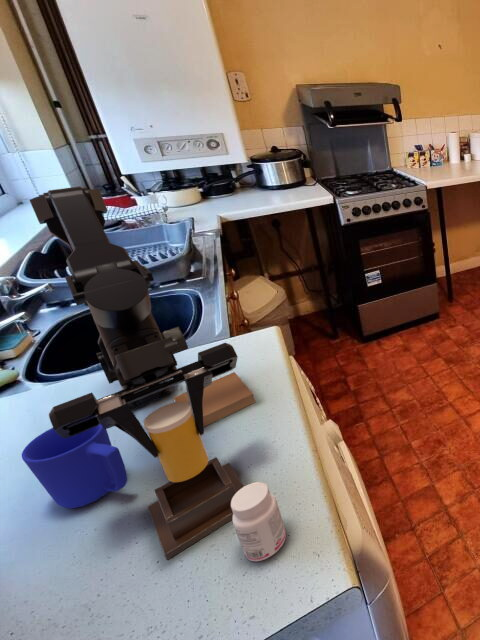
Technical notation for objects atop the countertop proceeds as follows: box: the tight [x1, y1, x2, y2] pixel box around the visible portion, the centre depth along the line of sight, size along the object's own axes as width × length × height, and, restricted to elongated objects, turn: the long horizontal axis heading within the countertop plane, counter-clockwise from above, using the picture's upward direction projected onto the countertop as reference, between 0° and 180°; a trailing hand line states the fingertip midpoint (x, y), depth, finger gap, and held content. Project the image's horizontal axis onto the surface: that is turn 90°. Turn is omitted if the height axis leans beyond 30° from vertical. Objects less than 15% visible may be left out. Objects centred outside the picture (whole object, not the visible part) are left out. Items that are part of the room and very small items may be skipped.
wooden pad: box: [173, 371, 256, 428], centre depth 80 cm, size 10×10×2 cm
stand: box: [147, 456, 245, 561], centre depth 60 cm, size 10×10×4 cm
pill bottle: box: [231, 481, 287, 562], centre depth 54 cm, size 5×5×8 cm
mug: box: [21, 424, 128, 509], centre depth 61 cm, size 8×12×10 cm
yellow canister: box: [143, 402, 210, 482], centre depth 57 cm, size 5×5×9 cm
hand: (179, 445), depth 56 cm, fingers closed on yellow canister, 4 cm apart
